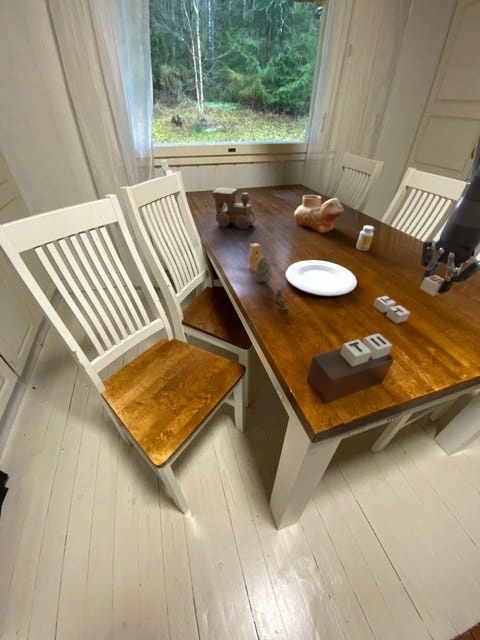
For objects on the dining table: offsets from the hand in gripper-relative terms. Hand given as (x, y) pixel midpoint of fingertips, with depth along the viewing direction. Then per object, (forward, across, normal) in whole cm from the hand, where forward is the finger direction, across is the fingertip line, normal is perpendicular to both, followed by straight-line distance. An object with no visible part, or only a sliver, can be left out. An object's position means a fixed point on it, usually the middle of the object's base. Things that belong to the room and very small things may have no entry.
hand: (433, 287), depth 69 cm
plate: (+14, +32, +9) cm, 37 cm away
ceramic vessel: (+14, +80, -21) cm, 84 cm away
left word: (+6, -9, +27) cm, 29 cm away
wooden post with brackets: (+14, +24, +30) cm, 41 cm away
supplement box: (+14, +48, +28) cm, 58 cm away
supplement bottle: (+14, +50, -25) cm, 57 cm away
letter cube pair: (+14, +8, 0) cm, 16 cm away
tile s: (+1, 0, 0) cm, 1 cm away
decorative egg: (+14, +38, +29) cm, 50 cm away
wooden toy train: (+14, +96, +18) cm, 99 cm away
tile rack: (+14, -8, +30) cm, 34 cm away
